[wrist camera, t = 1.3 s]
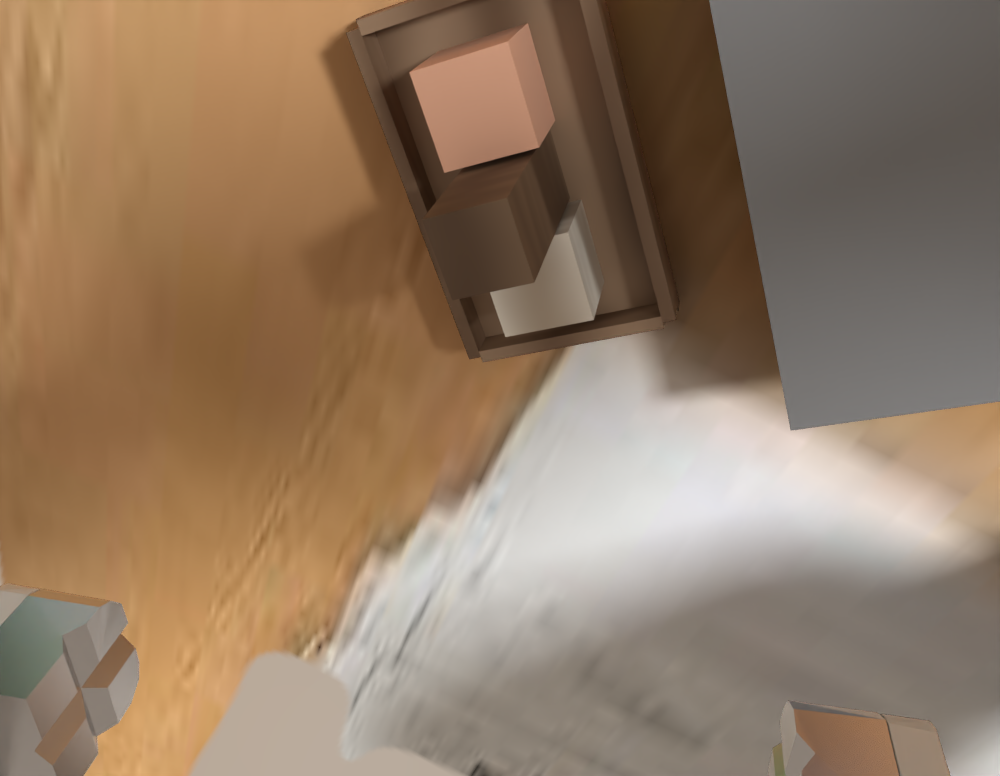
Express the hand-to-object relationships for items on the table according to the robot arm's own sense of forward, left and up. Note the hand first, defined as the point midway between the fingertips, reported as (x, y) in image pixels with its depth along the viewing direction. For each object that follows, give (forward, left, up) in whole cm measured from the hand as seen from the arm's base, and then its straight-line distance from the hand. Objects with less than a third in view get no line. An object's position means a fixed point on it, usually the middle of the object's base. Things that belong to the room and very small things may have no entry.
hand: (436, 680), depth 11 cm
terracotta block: (+5, -2, -30) cm, 31 cm away
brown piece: (+5, +2, -32) cm, 32 cm away
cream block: (+5, +6, -30) cm, 31 cm away
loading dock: (-11, +4, -31) cm, 33 cm away
